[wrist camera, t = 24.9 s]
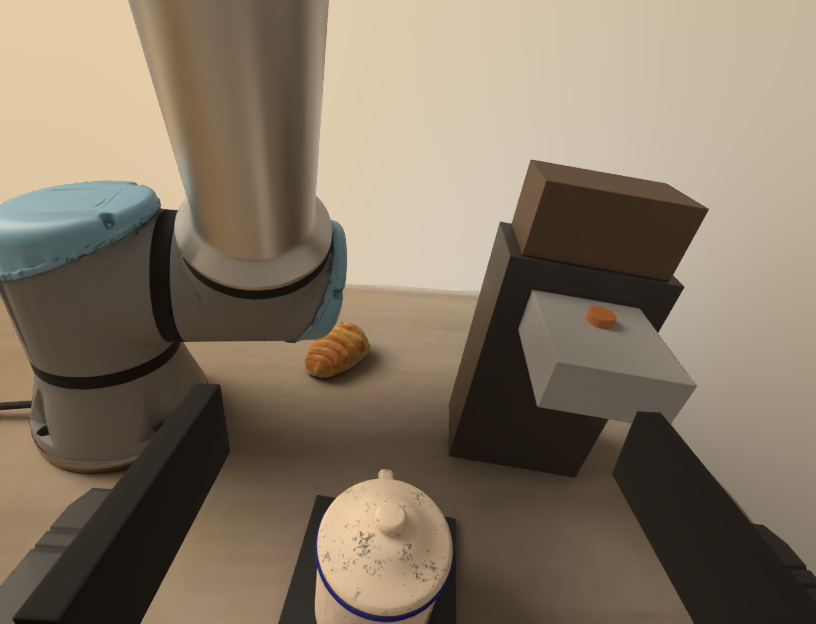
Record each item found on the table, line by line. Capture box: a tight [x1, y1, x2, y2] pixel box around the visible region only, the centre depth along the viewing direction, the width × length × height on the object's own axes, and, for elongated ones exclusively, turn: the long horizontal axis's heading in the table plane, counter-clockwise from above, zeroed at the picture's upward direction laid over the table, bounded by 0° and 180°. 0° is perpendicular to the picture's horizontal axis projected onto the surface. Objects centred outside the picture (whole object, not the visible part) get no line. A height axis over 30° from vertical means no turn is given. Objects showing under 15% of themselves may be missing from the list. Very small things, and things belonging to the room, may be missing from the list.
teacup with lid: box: [315, 469, 453, 624], centre depth 30 cm, size 12×9×12 cm
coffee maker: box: [449, 160, 709, 477], centre depth 37 cm, size 18×14×30 cm
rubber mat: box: [278, 495, 456, 624], centre depth 34 cm, size 13×13×1 cm
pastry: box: [305, 322, 371, 378], centre depth 55 cm, size 9×7×4 cm
